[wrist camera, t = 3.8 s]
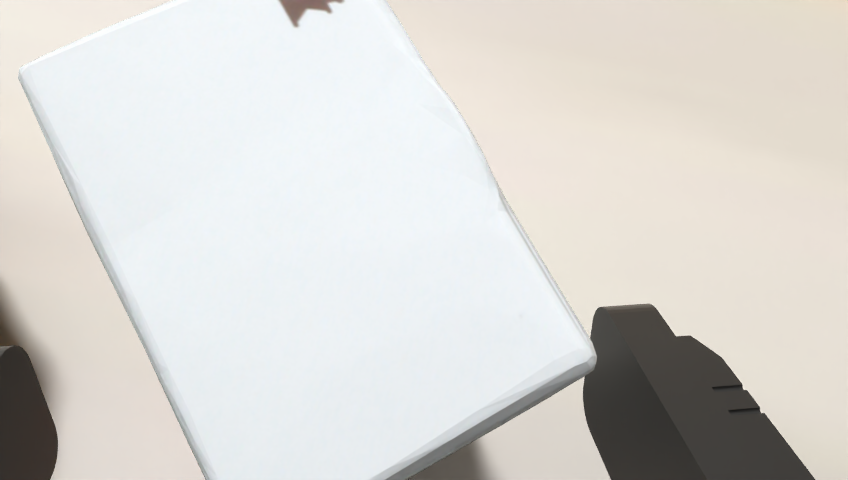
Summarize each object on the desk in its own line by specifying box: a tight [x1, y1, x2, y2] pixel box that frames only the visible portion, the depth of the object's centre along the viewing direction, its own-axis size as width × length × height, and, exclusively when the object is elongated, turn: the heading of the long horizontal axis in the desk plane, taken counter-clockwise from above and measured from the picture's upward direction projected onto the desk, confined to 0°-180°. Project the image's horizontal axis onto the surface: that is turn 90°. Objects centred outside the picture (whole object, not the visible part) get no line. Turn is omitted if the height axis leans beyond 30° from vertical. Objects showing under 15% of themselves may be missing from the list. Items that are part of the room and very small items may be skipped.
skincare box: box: [18, 0, 597, 480], centre depth 13 cm, size 6×4×12 cm
